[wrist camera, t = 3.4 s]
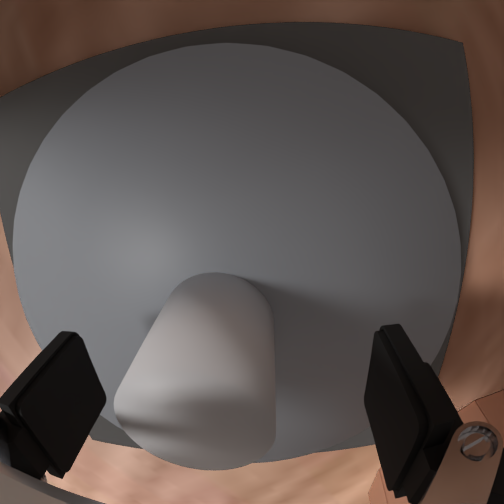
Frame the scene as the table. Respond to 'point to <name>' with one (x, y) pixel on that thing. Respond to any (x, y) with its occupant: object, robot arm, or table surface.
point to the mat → (298, 41)
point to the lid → (235, 249)
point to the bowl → (484, 409)
